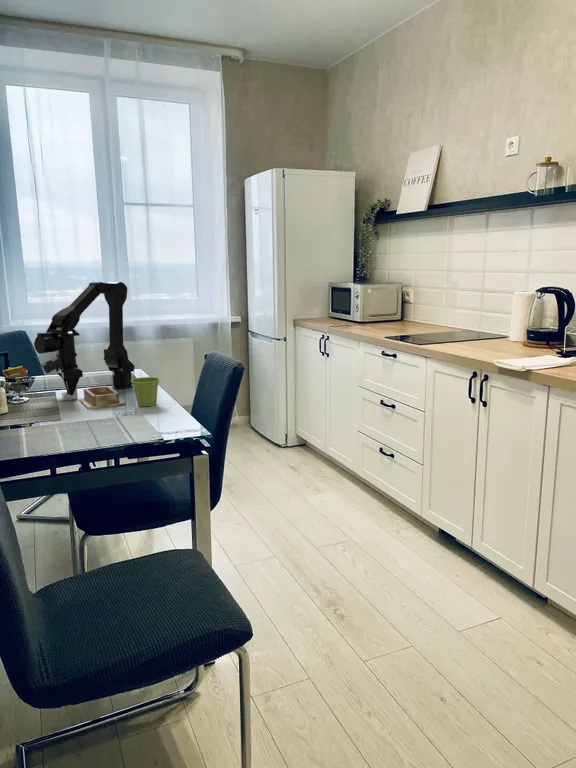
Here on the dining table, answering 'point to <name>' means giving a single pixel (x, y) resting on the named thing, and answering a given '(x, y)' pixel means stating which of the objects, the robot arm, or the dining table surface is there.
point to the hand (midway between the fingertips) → (70, 394)
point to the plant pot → (146, 390)
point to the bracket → (67, 396)
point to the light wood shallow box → (100, 397)
